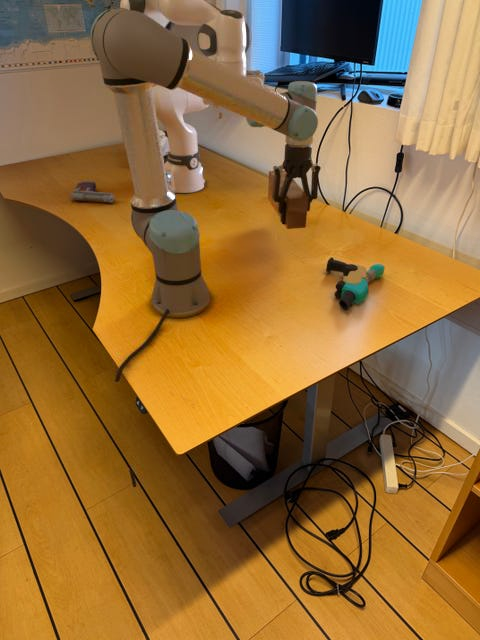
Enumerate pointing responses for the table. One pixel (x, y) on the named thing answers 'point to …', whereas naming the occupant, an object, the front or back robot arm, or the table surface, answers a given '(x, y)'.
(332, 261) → the toy gun
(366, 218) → the table surface
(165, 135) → the sneaker
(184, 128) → the back robot arm
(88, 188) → the toy gun
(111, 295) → the table surface
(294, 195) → the bar
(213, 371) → the table surface
